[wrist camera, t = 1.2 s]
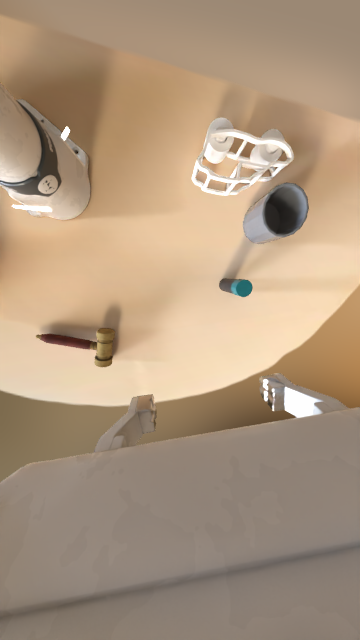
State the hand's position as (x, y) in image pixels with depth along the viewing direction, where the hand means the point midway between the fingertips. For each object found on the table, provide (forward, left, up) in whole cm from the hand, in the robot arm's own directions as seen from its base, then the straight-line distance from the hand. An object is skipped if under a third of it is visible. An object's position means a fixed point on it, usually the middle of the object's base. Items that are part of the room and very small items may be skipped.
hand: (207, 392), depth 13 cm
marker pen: (+5, +14, -38) cm, 41 cm away
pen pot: (-2, +31, -38) cm, 49 cm away
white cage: (-15, +32, -38) cm, 52 cm away
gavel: (-11, -28, -38) cm, 49 cm away
